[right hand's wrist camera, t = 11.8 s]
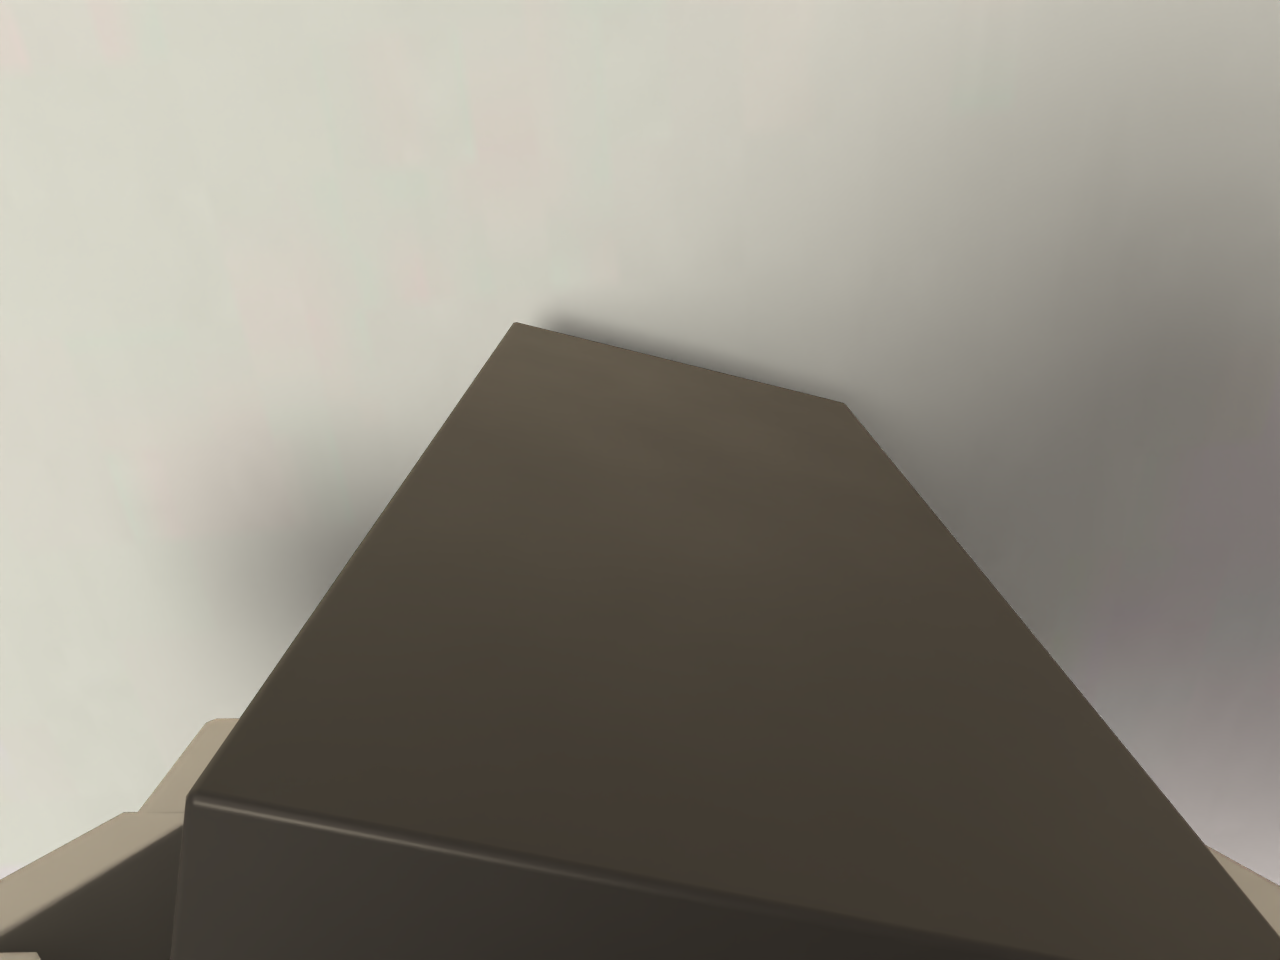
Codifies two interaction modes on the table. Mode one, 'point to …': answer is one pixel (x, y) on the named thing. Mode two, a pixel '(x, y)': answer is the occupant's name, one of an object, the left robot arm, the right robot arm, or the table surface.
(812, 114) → the table surface
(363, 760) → the box
